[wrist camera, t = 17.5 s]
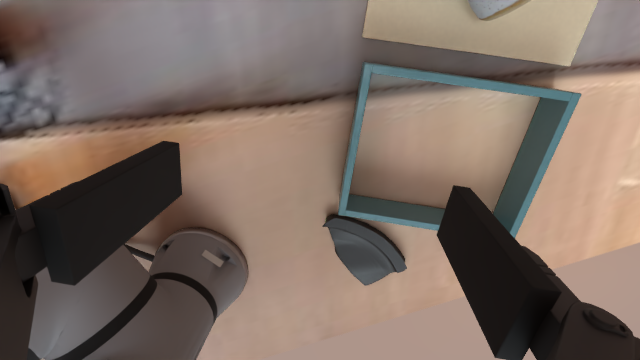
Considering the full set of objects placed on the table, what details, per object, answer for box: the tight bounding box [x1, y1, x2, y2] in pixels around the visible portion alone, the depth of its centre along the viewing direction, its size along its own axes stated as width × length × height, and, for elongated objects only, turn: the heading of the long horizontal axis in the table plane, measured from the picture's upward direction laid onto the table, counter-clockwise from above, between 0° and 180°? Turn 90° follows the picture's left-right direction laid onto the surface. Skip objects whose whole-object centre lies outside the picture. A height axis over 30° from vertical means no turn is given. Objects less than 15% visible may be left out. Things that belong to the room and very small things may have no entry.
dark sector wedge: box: [322, 214, 407, 286], centre depth 46 cm, size 8×14×2 cm, turn 37°
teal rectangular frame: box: [338, 62, 581, 238], centre depth 38 cm, size 23×19×5 cm
